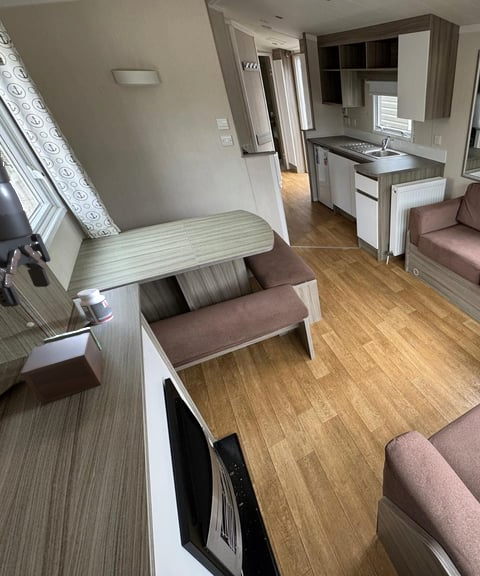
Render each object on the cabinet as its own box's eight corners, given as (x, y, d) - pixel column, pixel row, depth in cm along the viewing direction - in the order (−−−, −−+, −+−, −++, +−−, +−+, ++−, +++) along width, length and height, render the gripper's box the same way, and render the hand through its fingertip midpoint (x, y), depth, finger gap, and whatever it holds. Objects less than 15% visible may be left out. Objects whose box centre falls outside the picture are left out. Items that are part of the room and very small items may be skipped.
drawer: (58, 358, 76) (45, 336, 73) (102, 346, 81) (90, 324, 78) (50, 383, 69) (34, 359, 66) (98, 367, 73) (85, 344, 70)
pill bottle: (116, 313, 98) (102, 286, 93) (111, 322, 93) (97, 293, 89) (93, 318, 95) (78, 289, 91) (87, 327, 91) (71, 297, 86)
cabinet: (52, 376, 72) (33, 347, 68) (104, 360, 77) (89, 332, 73) (42, 404, 64) (20, 373, 60) (101, 384, 69) (84, 354, 65)
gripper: (-7, 201, 56) (28, 281, 63) (-84, 218, 44) (-31, 315, 51) (46, 203, 59) (74, 280, 65) (-14, 219, 46) (28, 311, 53)
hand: (28, 295), depth 58 cm, fingers open, 8 cm apart
